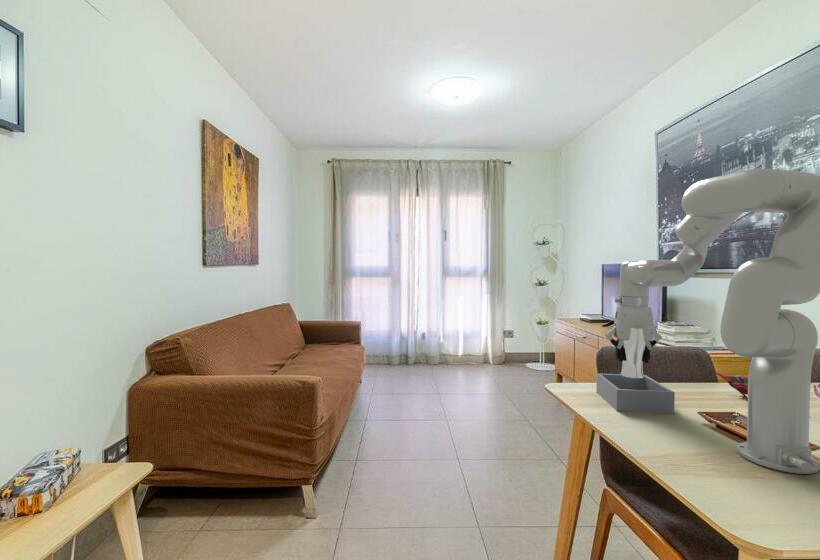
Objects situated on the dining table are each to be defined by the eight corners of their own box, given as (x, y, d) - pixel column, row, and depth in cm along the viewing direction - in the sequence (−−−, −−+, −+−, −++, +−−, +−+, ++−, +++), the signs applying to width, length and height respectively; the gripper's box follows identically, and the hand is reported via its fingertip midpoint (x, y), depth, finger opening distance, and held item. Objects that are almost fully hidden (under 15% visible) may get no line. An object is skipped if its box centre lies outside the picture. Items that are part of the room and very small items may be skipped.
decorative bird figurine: (768, 407, 115) (769, 373, 115) (709, 389, 133) (709, 359, 132) (775, 406, 116) (776, 372, 116) (716, 389, 133) (716, 359, 133)
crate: (674, 413, 110) (674, 392, 110) (616, 410, 113) (616, 389, 112) (645, 393, 128) (646, 375, 128) (596, 391, 130) (596, 373, 130)
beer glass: (638, 373, 124) (639, 325, 123) (650, 379, 117) (650, 328, 116) (615, 372, 124) (615, 324, 124) (625, 378, 117) (625, 328, 117)
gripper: (607, 302, 117) (606, 363, 118) (671, 303, 115) (669, 365, 115) (599, 300, 125) (598, 357, 125) (658, 301, 122) (657, 359, 123)
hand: (632, 360), depth 120 cm, fingers closed on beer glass, 6 cm apart
